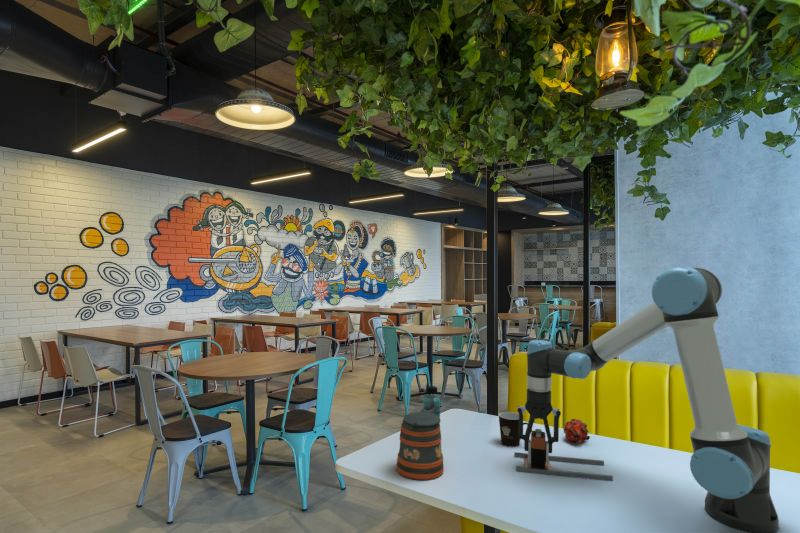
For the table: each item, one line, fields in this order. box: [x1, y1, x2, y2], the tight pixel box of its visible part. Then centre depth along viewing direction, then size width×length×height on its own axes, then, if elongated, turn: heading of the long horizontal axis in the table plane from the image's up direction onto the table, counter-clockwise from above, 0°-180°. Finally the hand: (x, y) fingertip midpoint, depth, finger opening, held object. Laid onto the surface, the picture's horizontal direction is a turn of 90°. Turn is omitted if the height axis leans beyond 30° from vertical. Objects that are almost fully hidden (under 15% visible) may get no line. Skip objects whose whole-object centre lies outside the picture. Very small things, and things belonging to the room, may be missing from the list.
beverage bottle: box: [422, 385, 441, 425], centre depth 163 cm, size 6×7×20 cm
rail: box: [513, 452, 614, 482], centre depth 144 cm, size 12×28×1 cm, turn 79°
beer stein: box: [395, 398, 445, 481], centre depth 143 cm, size 19×15×20 cm
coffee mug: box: [498, 411, 533, 448], centre depth 162 cm, size 12×9×10 cm
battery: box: [530, 428, 547, 467], centre depth 145 cm, size 4×7×10 cm, turn 163°
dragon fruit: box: [563, 418, 591, 445], centre depth 167 cm, size 8×8×12 cm
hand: (537, 461), depth 145 cm, fingers closed on battery, 5 cm apart
